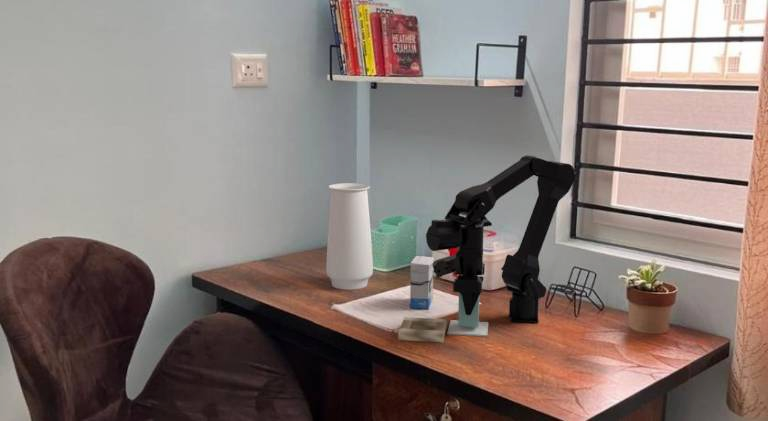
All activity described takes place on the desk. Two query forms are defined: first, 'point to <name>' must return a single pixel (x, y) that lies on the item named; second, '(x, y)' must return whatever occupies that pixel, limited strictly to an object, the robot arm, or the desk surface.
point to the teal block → (468, 319)
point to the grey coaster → (468, 329)
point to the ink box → (421, 282)
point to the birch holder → (415, 326)
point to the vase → (349, 237)
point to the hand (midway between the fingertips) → (468, 311)
